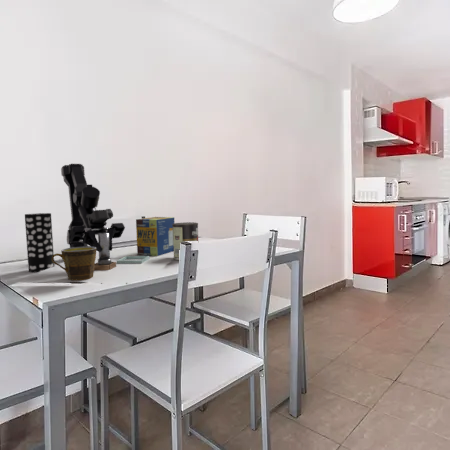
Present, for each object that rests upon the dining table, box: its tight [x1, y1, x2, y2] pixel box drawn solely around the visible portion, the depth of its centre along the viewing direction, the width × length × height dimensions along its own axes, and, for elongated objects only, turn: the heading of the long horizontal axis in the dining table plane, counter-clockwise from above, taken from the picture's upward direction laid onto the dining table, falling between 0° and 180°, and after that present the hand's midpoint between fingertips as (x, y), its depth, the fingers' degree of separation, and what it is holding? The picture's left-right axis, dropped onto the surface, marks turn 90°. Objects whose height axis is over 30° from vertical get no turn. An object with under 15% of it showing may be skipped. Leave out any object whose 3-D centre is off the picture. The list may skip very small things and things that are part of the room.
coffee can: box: [172, 221, 199, 261], centre depth 150 cm, size 10×10×14 cm
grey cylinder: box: [97, 233, 112, 265], centre depth 129 cm, size 4×4×12 cm
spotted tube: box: [24, 212, 55, 273], centre depth 133 cm, size 8×8×20 cm
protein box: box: [135, 216, 175, 257], centre depth 166 cm, size 10×15×16 cm
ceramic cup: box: [52, 246, 97, 285], centre depth 113 cm, size 13×10×10 cm
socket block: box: [94, 261, 117, 271], centre depth 129 cm, size 7×7×2 cm
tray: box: [116, 255, 150, 264], centre depth 142 cm, size 10×10×2 cm
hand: (106, 250), depth 128 cm, fingers closed on grey cylinder, 4 cm apart
